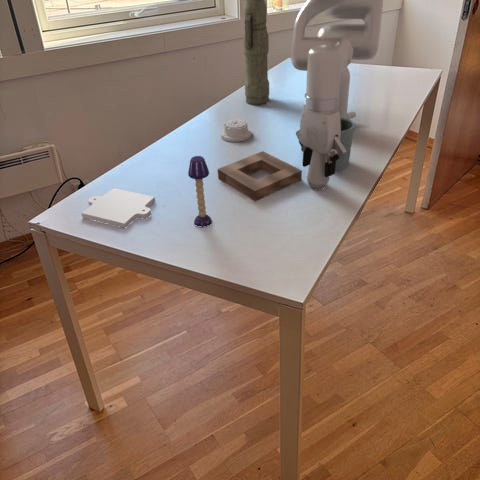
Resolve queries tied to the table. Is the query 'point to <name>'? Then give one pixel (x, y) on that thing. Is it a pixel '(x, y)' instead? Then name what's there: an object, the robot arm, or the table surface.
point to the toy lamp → (199, 188)
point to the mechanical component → (236, 131)
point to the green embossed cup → (345, 143)
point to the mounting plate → (119, 207)
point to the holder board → (261, 188)
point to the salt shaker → (317, 171)
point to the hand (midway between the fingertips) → (318, 169)
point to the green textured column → (256, 52)
